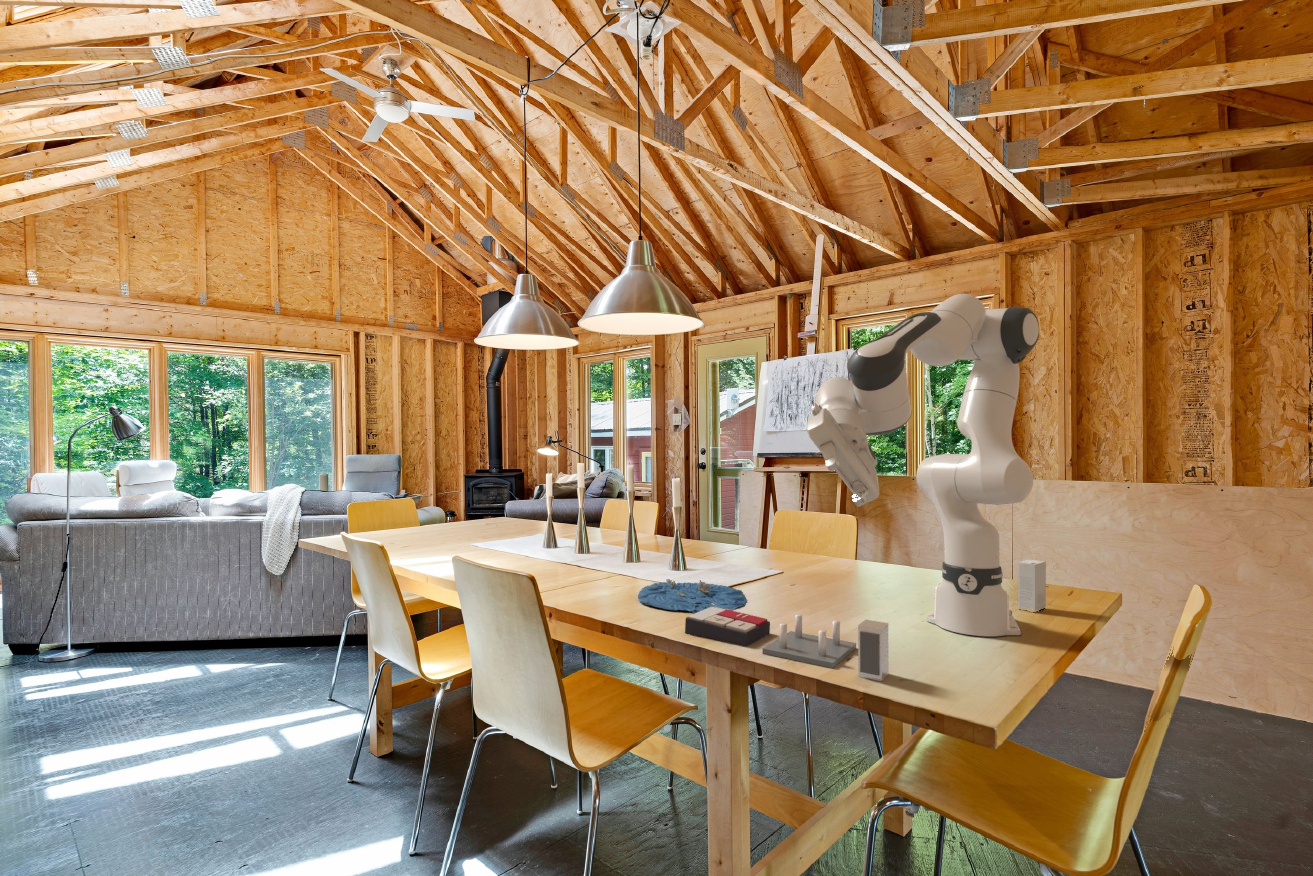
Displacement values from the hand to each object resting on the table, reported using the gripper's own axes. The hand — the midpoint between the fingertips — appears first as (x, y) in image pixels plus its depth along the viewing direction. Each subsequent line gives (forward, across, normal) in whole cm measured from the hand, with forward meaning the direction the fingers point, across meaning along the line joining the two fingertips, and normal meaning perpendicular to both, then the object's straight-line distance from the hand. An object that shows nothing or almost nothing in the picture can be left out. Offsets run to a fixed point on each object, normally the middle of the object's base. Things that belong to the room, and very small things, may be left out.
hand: (846, 485), depth 106 cm
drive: (+17, +28, +11) cm, 35 cm away
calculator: (+3, +24, +41) cm, 48 cm away
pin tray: (+9, +28, +24) cm, 38 cm away
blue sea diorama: (-20, +33, +60) cm, 72 cm away
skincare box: (-25, +80, -10) cm, 85 cm away
